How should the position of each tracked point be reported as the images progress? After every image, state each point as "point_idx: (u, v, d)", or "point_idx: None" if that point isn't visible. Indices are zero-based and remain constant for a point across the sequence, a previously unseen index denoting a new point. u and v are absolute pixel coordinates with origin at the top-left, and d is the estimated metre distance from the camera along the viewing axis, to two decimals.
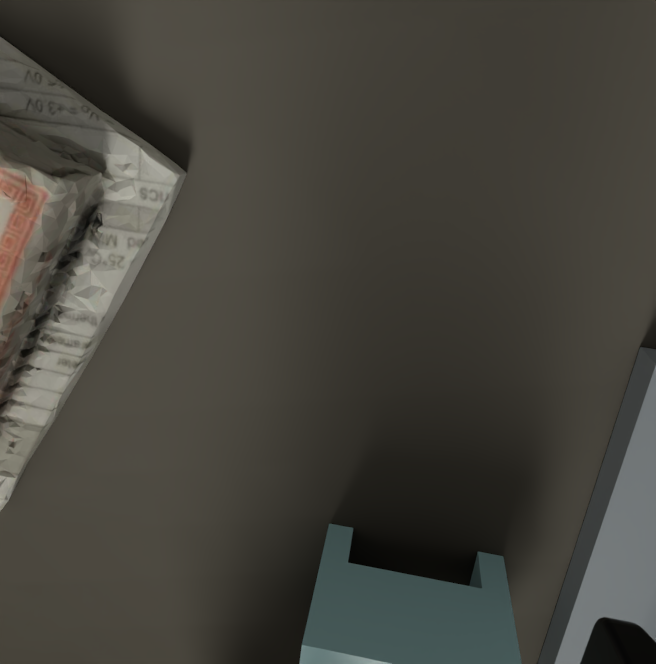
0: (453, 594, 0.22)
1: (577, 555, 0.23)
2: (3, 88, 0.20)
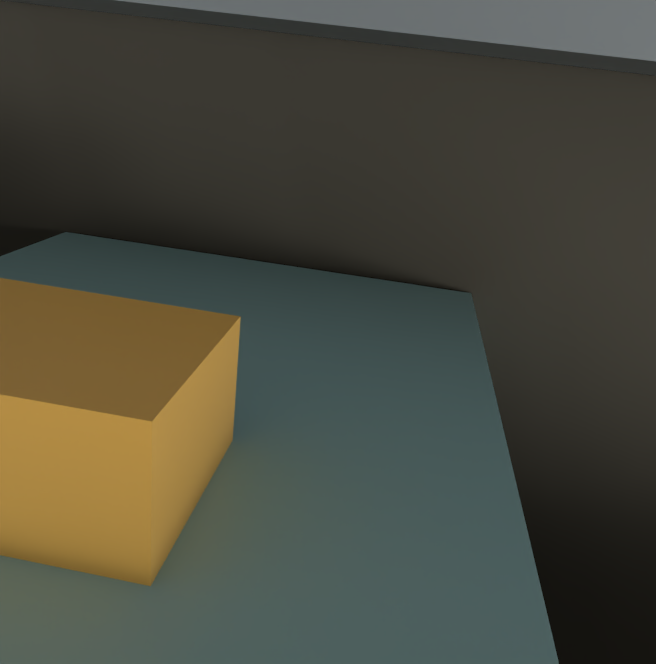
0: None
1: None
2: None
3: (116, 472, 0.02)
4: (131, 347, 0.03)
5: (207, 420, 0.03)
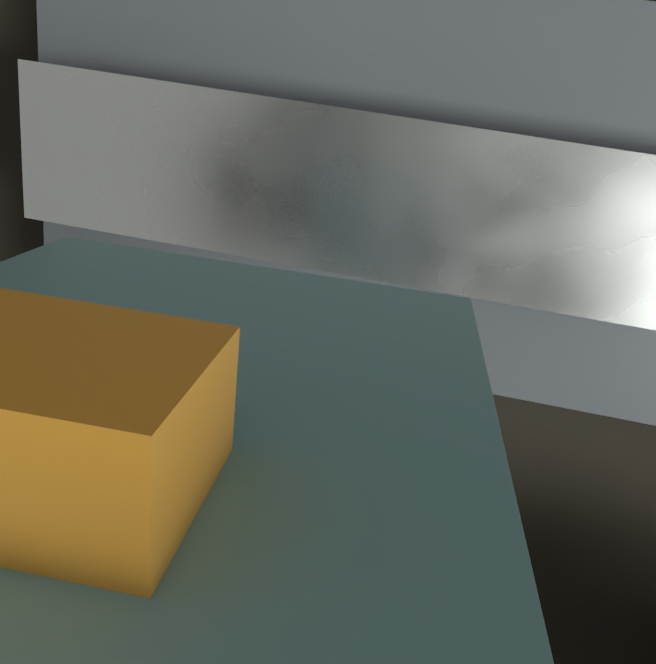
0: None
1: None
2: None
3: (114, 484, 0.02)
4: (131, 359, 0.03)
5: (207, 431, 0.03)
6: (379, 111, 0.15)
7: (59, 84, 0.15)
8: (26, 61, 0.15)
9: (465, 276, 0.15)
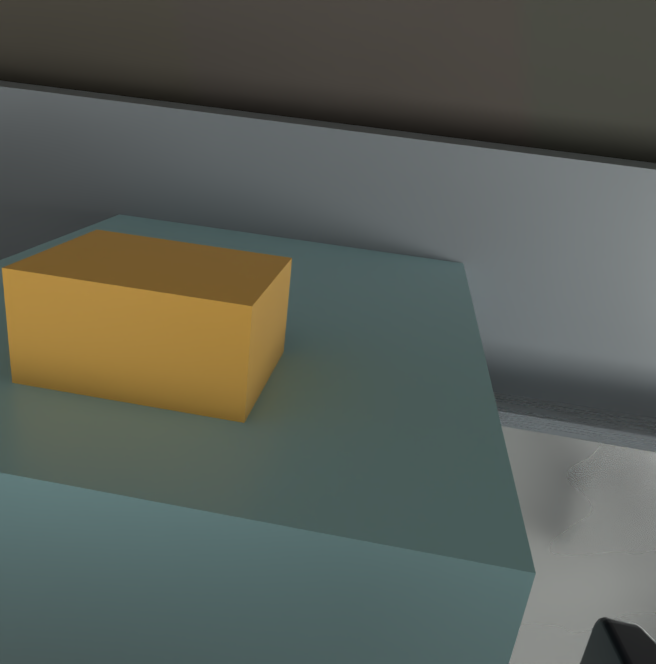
0: None
1: None
2: None
3: (227, 341, 0.04)
4: (224, 272, 0.04)
5: (273, 326, 0.04)
6: None
7: None
8: None
9: None
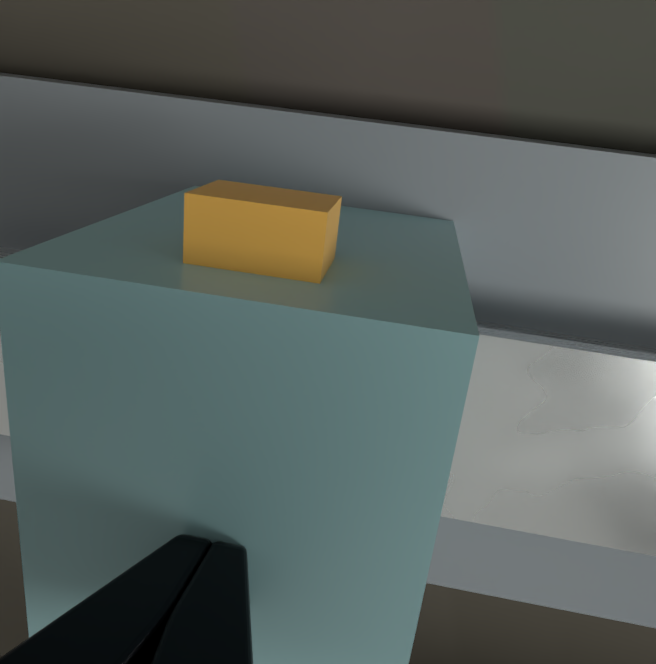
0: None
1: None
2: None
3: (312, 234, 0.07)
4: (305, 199, 0.07)
5: (332, 234, 0.07)
6: None
7: None
8: None
9: (478, 501, 0.12)
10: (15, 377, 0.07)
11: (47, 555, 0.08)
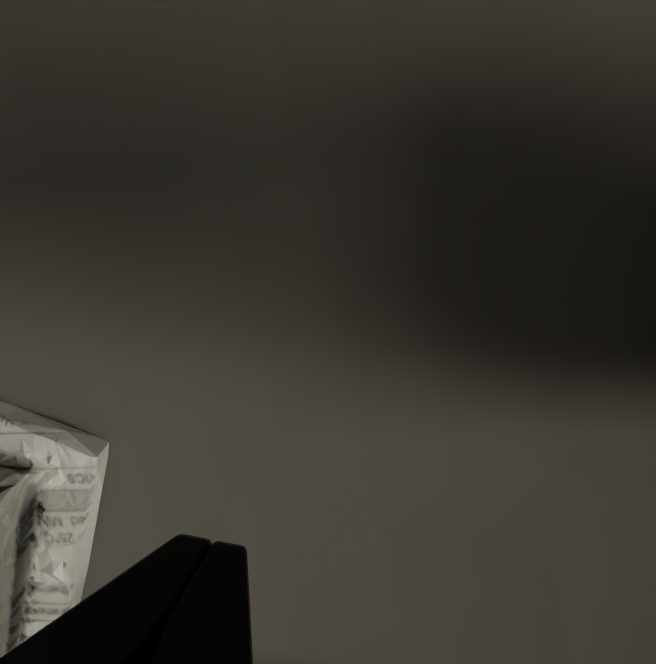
0: None
1: None
2: None
3: None
4: None
5: None
6: None
7: None
8: None
9: None
10: None
11: None
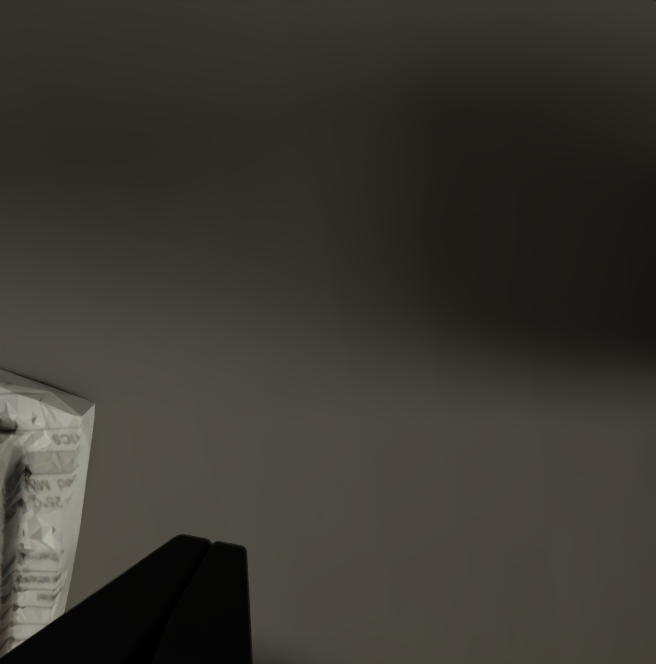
0: None
1: None
2: None
3: None
4: None
5: None
6: None
7: None
8: None
9: None
10: None
11: None
